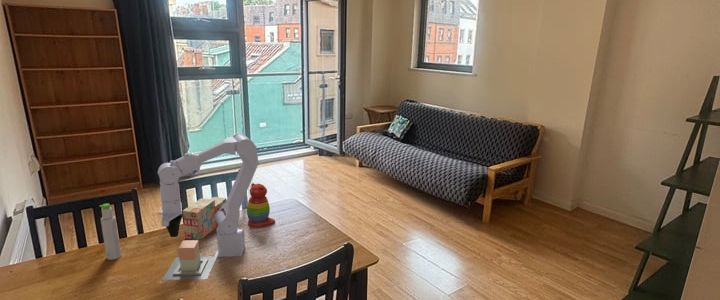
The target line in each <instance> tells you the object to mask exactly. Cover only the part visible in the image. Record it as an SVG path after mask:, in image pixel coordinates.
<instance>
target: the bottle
mask: <svg viewBox="0 0 720 300" xmlns="http://www.w3.org/2000/svg"><path fill="white" fill-rule="evenodd" d="M99 208H101V216H102V217H100V224H101V231H102V237H103V243H104V249H105V256H106V259H107V260H111V261H112V260H117V259H118V258H120V257H121V256H122V253H121V251H122V250H121V246H120V239H119V231H118V226H117V220H116V219H117V218H116V215H114V213H113V208H112V207H111V205H110V203H103V204H101V205H99Z"/></svg>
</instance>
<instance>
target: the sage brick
mask: <svg viewBox="0 0 720 300" xmlns="http://www.w3.org/2000/svg"><path fill="white" fill-rule="evenodd" d="M200 257H201V252H200V251H199V254H198V255H197V257H196V259H195V260H180V267H181V272H192V271H197V270H198V268H199V266H200V264H201V260H200Z"/></svg>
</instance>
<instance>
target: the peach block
mask: <svg viewBox="0 0 720 300" xmlns="http://www.w3.org/2000/svg"><path fill="white" fill-rule="evenodd" d="M177 249H178V250H177V251H178V257H179V260H195V259H196V257H197V255H198V254H199V252H200V244H199V239H185V240H182V241H181V243H180V245H179V246H178V248H177Z"/></svg>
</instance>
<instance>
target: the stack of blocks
mask: <svg viewBox="0 0 720 300" xmlns="http://www.w3.org/2000/svg"><path fill="white" fill-rule="evenodd" d="M226 201H227V198H226V197H221V196H218V197H217V196H213V197H211V198H201V197H200V199H198V200H197V201H195V202H194V203H192V204H191V205H189V206H188V207H186V208H184V209H182V214H183V217H182V219H183V226H184V227H183V228H184V238H185V240H202V239H204V238H205V237H206V236H208V235H209V234H210V233H211V232H213V231H214V230H215V229H217V227H218V223H217V221H216V220H215V215H216V213H217V212H218V211H219V210H220V209H221V207H222V205H223V204H224V203H226Z"/></svg>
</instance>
